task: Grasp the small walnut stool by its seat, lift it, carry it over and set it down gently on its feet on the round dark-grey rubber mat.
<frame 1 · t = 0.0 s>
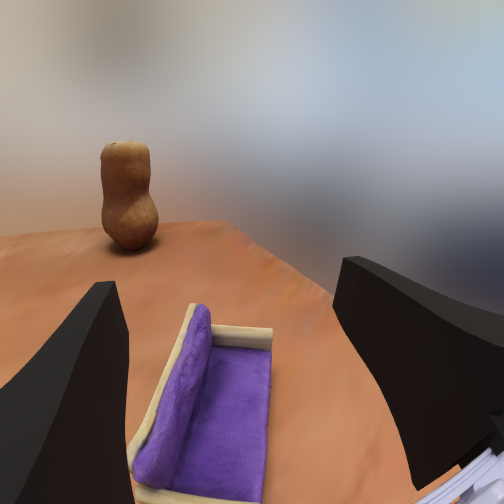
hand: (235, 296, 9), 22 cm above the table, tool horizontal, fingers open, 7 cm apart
butternut squash: (132, 247, 67), on the table
toy sofa: (222, 438, 25), on the table
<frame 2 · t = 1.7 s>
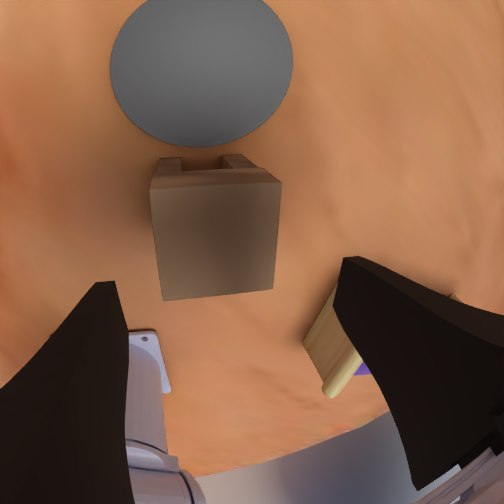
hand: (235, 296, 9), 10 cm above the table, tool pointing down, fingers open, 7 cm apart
stool: (201, 195, 17), on the table
mat: (202, 60, 14), on the table
toy sofa: (390, 314, 29), on the table
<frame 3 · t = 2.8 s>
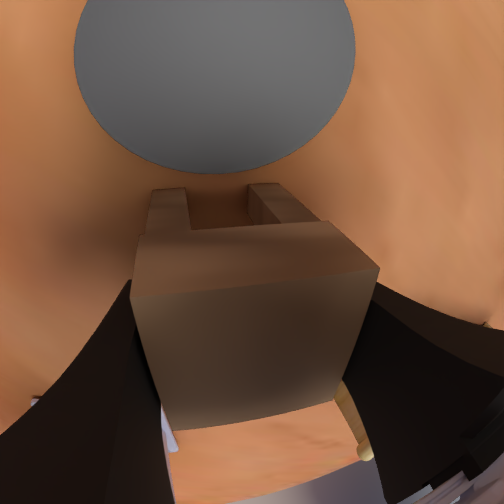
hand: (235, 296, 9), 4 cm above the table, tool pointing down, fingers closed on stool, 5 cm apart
stool: (217, 242, 12), on the table, touching gripper
mat: (220, 37, 8), on the table
toy sofa: (425, 351, 23), on the table
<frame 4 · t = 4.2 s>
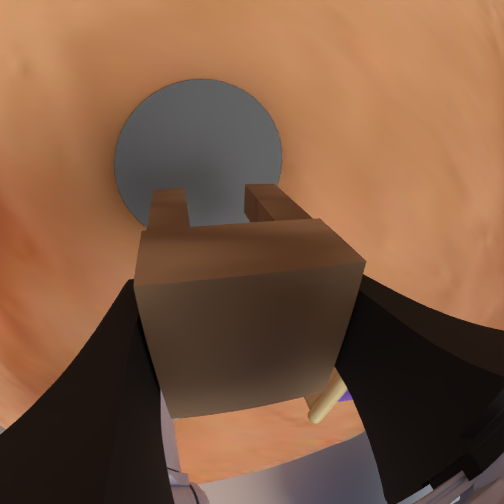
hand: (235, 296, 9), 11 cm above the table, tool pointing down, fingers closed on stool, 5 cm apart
stool: (215, 240, 13), point 6 cm above the table, touching gripper
mat: (198, 162, 17), on the table
toy sofa: (374, 345, 32), on the table
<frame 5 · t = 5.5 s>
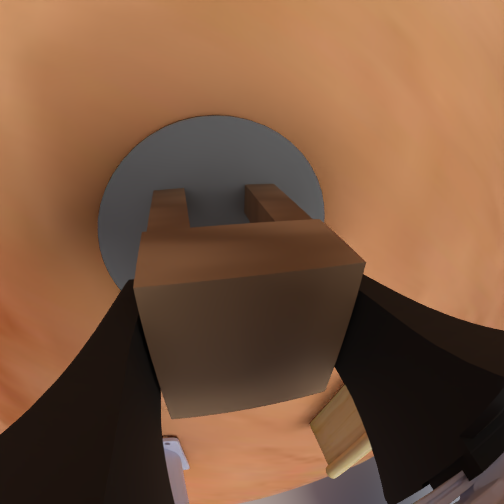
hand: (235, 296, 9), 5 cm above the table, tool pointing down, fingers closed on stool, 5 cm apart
stool: (215, 240, 13), point 1 cm above the table, touching gripper, mat
mat: (213, 231, 13), on the table
toy sofa: (393, 388, 28), on the table
when the fingers open (5 cm above the table, at t = 6.0 s): stool stays where it is, resting on mat.
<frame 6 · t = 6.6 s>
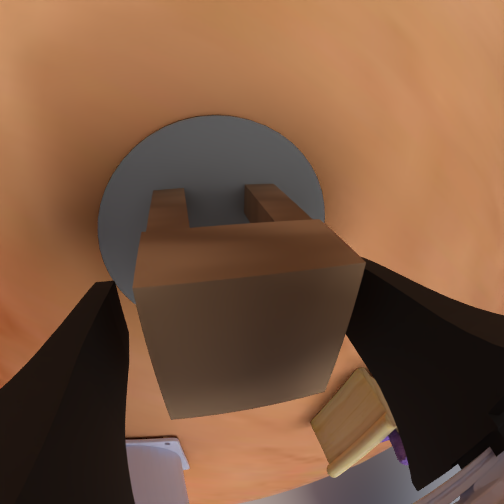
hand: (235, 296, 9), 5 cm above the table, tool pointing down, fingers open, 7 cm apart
stool: (215, 240, 13), point 1 cm above the table, touching mat
mat: (213, 231, 13), on the table
toy sofa: (395, 386, 28), on the table
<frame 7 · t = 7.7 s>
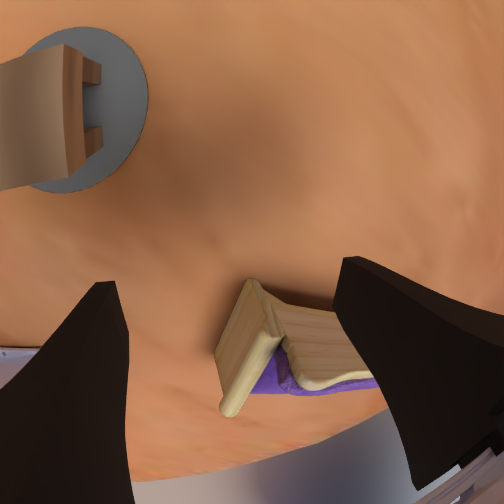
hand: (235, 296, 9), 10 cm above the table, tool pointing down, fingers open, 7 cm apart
stool: (62, 112, 13), point 1 cm above the table, touching mat
mat: (66, 109, 13), on the table
toy sofa: (323, 328, 27), on the table
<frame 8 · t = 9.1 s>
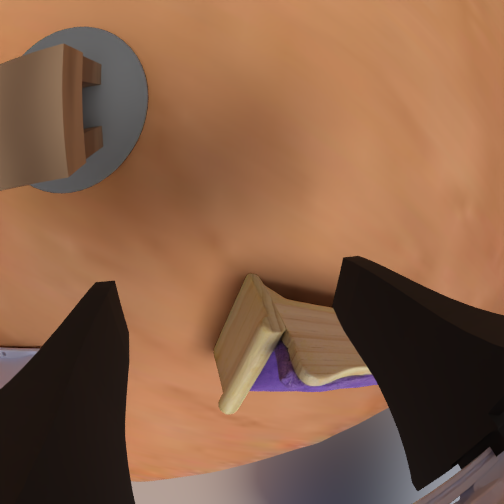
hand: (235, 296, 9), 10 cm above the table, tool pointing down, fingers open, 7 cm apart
stool: (62, 112, 13), point 1 cm above the table, touching mat
mat: (66, 109, 13), on the table
toy sofa: (323, 325, 27), on the table
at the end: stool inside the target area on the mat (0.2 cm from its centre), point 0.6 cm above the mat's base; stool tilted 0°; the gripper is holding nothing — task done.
